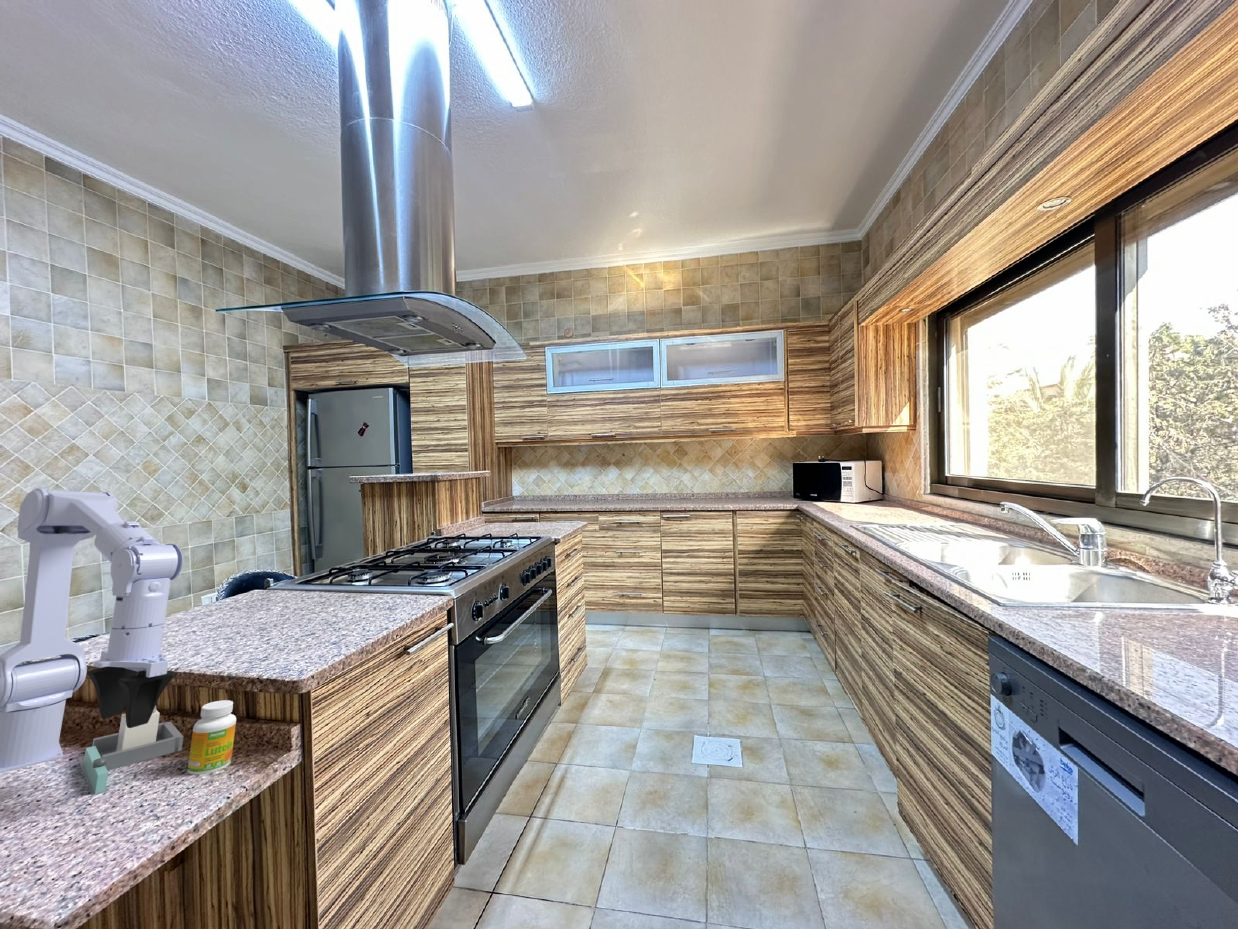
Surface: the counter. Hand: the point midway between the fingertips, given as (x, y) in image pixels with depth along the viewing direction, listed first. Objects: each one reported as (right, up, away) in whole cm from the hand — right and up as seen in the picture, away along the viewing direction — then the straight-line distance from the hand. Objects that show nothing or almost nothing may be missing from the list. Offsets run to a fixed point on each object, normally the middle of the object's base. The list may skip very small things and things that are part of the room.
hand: (124, 720), depth 69 cm
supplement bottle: (+7, -11, +7) cm, 15 cm away
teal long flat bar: (-7, -10, +2) cm, 12 cm away
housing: (-6, -11, +8) cm, 15 cm away
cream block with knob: (-9, -11, +10) cm, 17 cm away
